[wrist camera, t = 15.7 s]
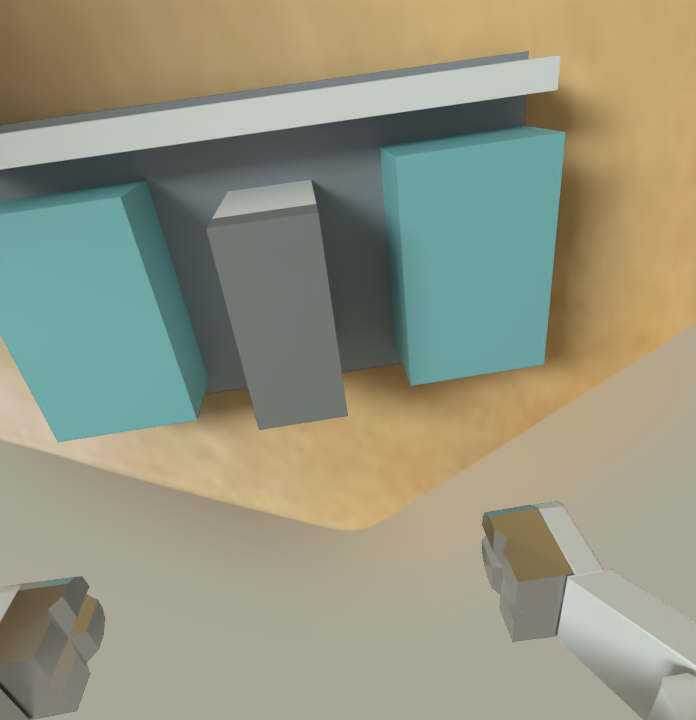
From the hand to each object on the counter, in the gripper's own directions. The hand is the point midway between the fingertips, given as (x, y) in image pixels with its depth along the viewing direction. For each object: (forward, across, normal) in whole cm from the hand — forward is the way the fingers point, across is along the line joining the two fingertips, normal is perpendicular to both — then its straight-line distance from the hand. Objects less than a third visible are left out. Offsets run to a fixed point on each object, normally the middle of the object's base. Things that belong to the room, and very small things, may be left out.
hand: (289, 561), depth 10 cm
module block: (+18, 0, 0) cm, 18 cm away
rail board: (+19, +1, -1) cm, 19 cm away
